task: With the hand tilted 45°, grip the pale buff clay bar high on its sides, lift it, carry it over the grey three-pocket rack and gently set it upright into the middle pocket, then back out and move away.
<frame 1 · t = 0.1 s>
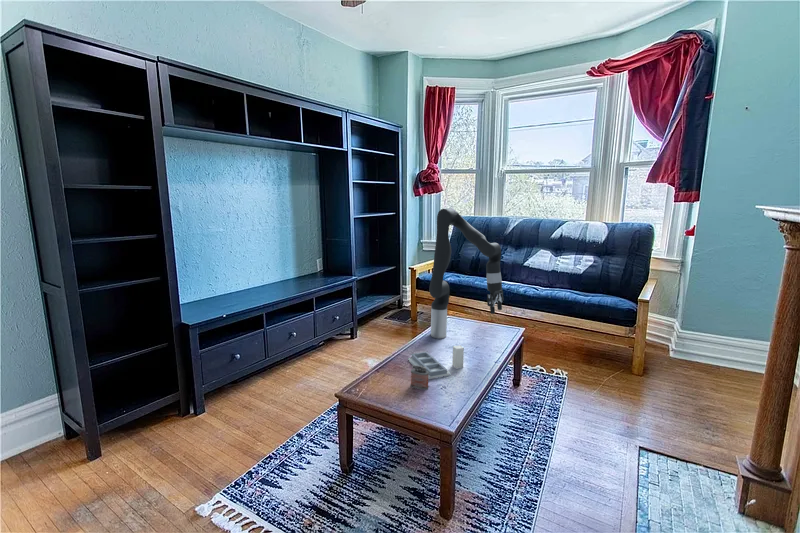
hand: (496, 311, 204), 22 cm above the table, tool pointing down, fingers open, 8 cm apart
rack: (428, 367, 189), on the table
clay bar: (457, 366, 191), on the table
lighter: (419, 387, 170), on the table
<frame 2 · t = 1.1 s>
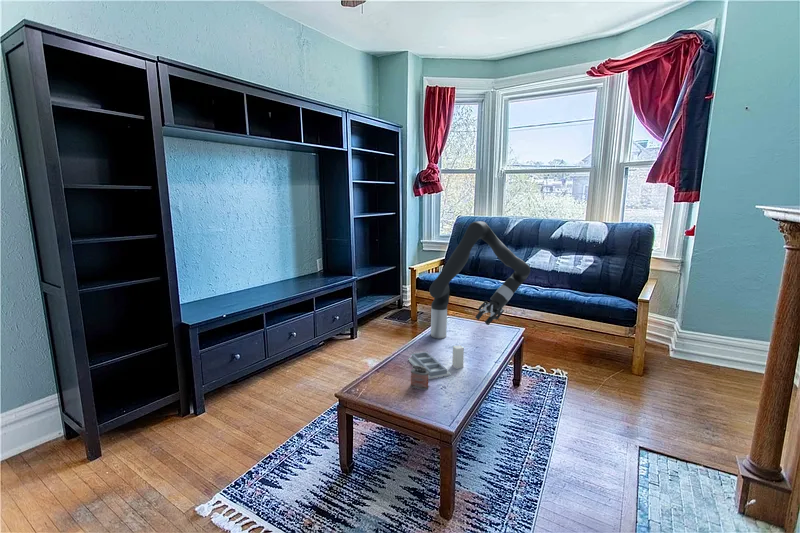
hand: (481, 321, 191), 22 cm above the table, tool tilted 45°, fingers open, 8 cm apart
nothing on the table moved.
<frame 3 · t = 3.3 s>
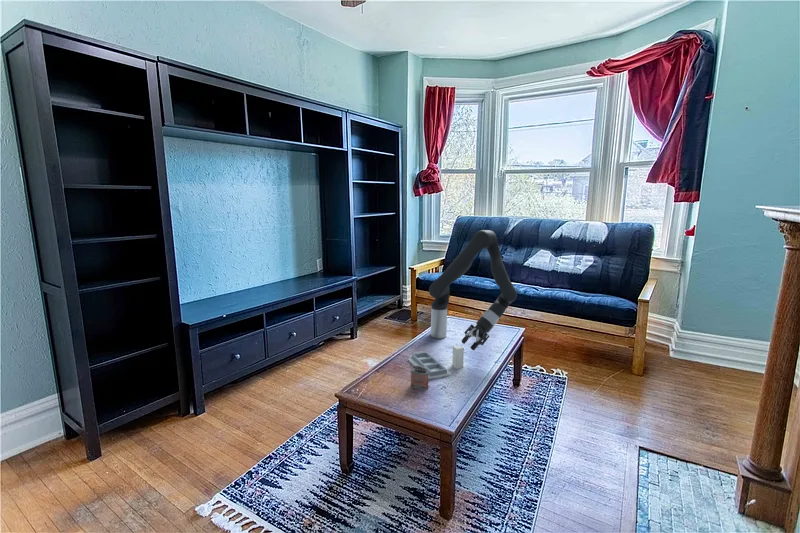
hand: (467, 346, 190), 10 cm above the table, tool tilted 45°, fingers open, 8 cm apart
nothing on the table moved.
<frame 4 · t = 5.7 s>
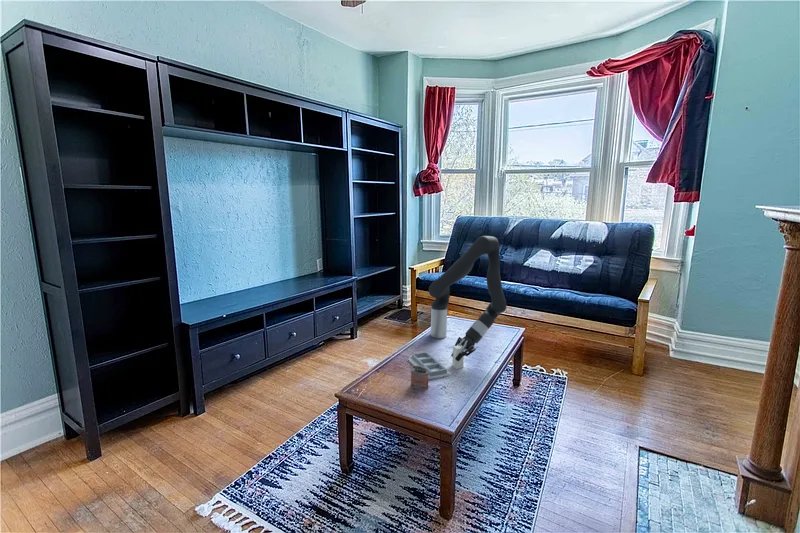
hand: (454, 358, 189), 5 cm above the table, tool tilted 45°, fingers closed on clay bar, 3 cm apart
clay bar: (457, 366, 190), on the table, touching gripper
everything else where it was.
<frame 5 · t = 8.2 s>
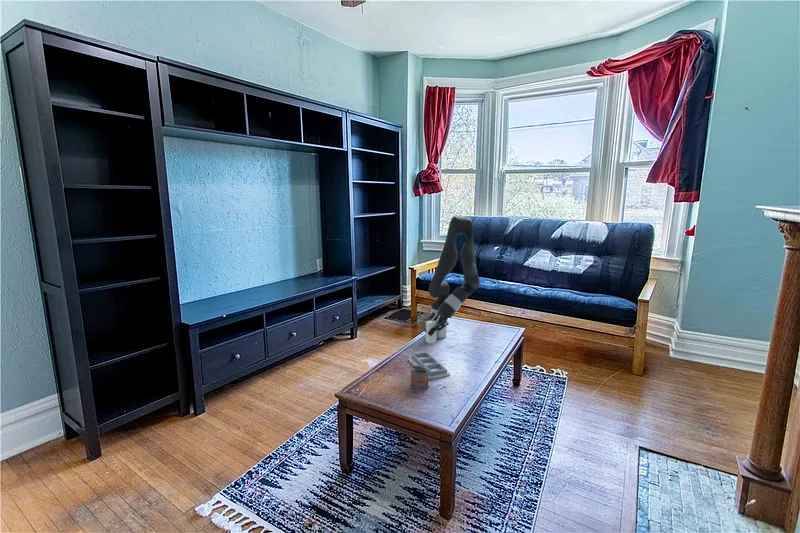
hand: (427, 333, 185), 18 cm above the table, tool tilted 45°, fingers closed on clay bar, 3 cm apart
clay bar: (430, 341, 187), point 13 cm above the table, touching gripper
everything else where it was.
when the fingers open (7 cm above the table, at t = 10.7 s): clay bar drops 1 cm, resting on rack.
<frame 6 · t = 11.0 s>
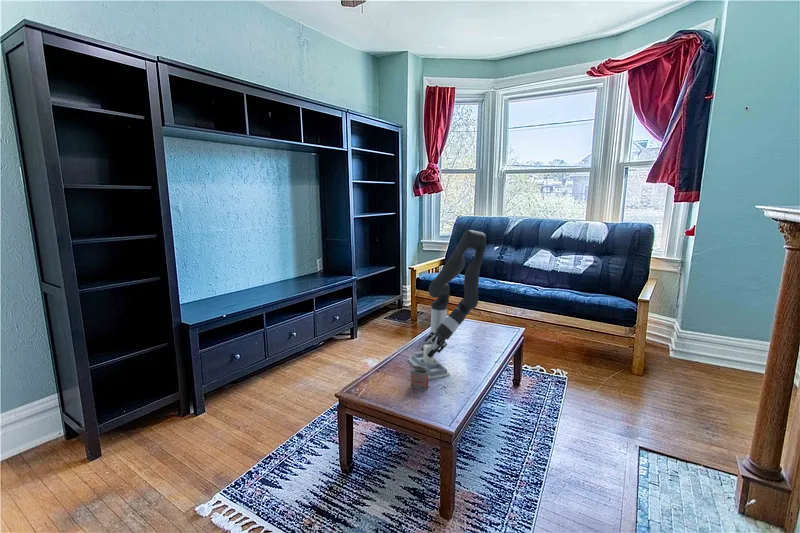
hand: (425, 353, 187), 7 cm above the table, tool tilted 45°, fingers open, 6 cm apart
clay bar: (428, 365, 189), point 1 cm above the table, touching rack
everything else where it was.
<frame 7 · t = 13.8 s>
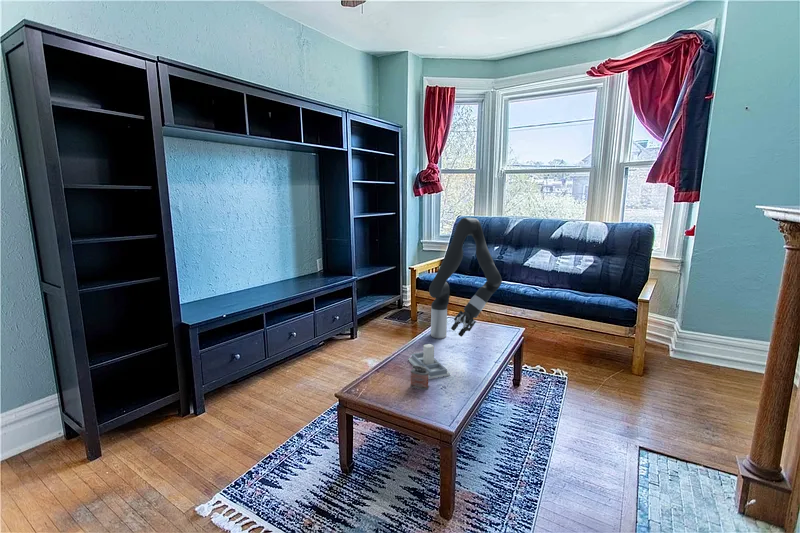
hand: (455, 332, 193), 15 cm above the table, tool tilted 40°, fingers open, 8 cm apart
nothing on the table moved.
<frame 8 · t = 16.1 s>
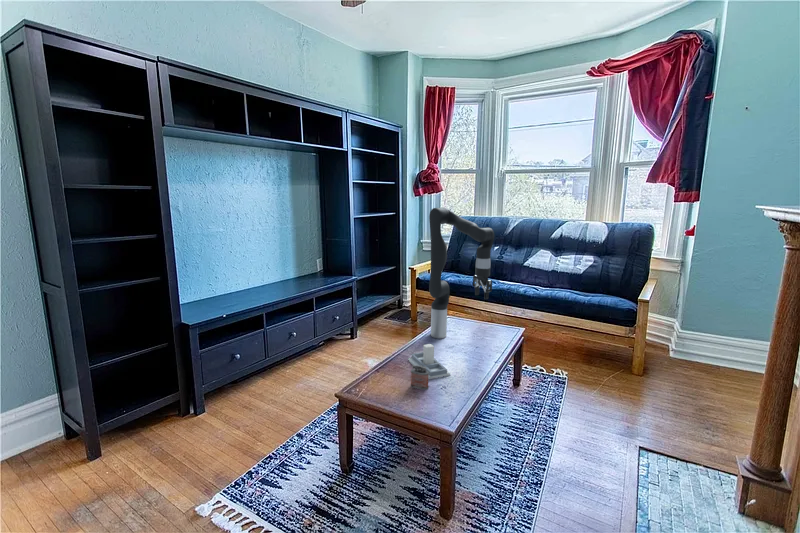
hand: (481, 297, 203), 30 cm above the table, tool pointing down, fingers open, 8 cm apart
nothing on the table moved.
at the end: clay bar 0.1 cm off-centre on the rack, point 1.2 cm above the rack's base; clay bar tilted 0°; the gripper is holding nothing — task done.
